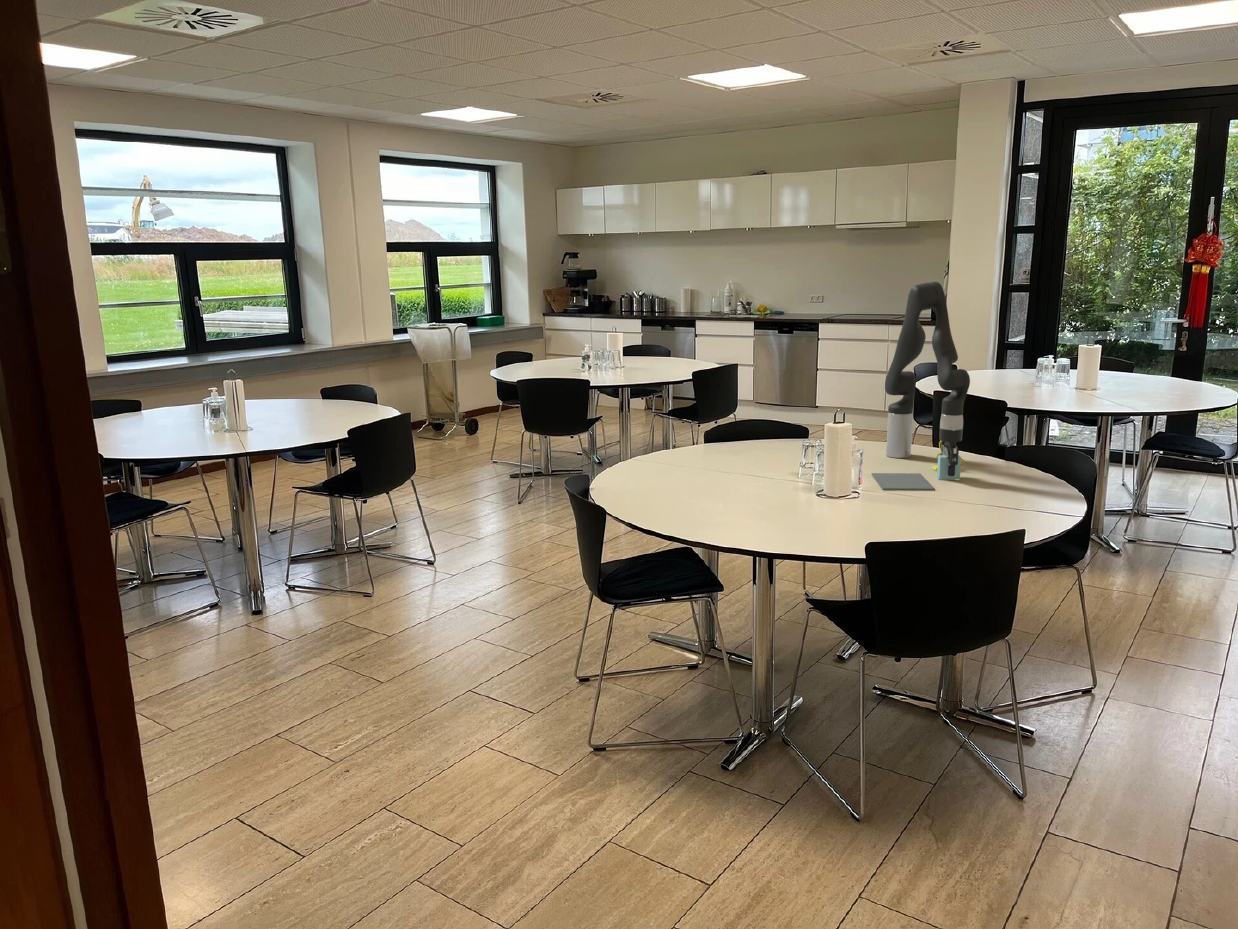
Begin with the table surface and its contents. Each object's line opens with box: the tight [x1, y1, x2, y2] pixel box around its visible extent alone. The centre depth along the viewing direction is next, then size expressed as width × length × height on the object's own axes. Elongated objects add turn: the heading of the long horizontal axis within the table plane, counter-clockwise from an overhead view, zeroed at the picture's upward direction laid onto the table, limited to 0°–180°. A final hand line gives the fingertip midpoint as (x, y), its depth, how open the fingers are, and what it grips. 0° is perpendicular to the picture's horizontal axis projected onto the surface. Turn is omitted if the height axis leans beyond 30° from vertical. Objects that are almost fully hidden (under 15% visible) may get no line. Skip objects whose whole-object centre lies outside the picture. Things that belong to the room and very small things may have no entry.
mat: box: [871, 472, 936, 491], centre depth 315 cm, size 22×17×1 cm
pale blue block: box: [936, 454, 962, 481], centre depth 318 cm, size 4×7×8 cm, turn 84°
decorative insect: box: [931, 440, 966, 472], centre depth 332 cm, size 13×3×10 cm
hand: (948, 473), depth 318 cm, fingers open, 7 cm apart
